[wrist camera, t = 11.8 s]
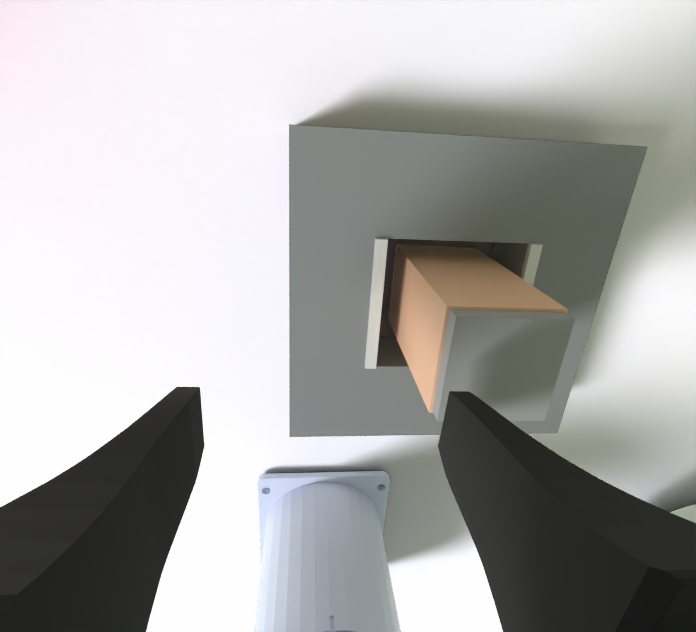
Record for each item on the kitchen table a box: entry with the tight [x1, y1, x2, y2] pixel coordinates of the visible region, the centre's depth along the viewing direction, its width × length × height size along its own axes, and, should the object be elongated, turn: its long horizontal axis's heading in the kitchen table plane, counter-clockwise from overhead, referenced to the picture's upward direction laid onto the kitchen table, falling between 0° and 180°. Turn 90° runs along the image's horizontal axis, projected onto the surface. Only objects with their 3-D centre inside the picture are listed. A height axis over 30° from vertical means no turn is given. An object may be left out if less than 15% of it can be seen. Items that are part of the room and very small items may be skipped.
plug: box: [388, 245, 575, 421], centre depth 17 cm, size 4×4×9 cm
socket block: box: [289, 125, 647, 437], centre depth 20 cm, size 14×14×3 cm
